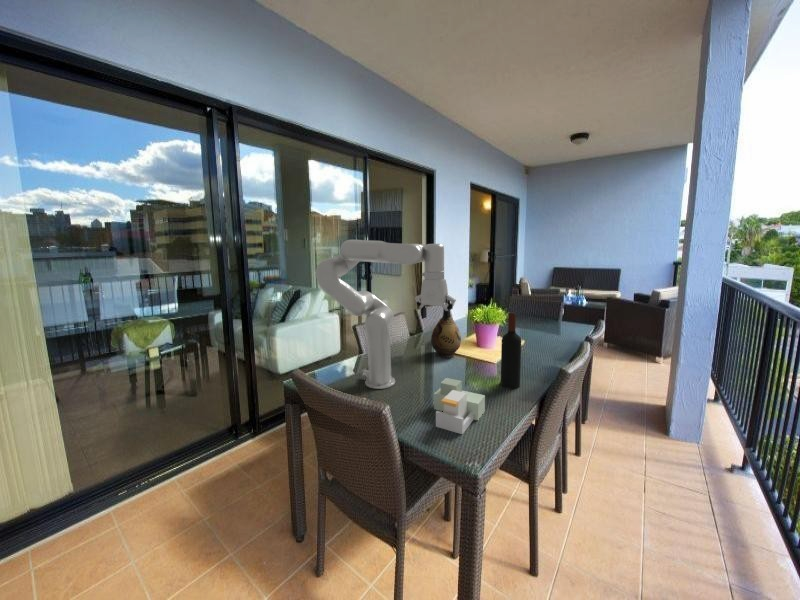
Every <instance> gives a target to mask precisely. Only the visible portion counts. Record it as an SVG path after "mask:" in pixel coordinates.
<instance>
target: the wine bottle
mask: <svg viewBox="0 0 800 600" xmlns="http://www.w3.org/2000/svg"><path fill="white" fill-rule="evenodd" d="M516 318H517V313H516V312H514V311H513V312H508V315H507V320H508V321H507V327H508V329H507V333H504V334H503V336H502V337H501V349H500V350H501V351H500V352H501V356H500V358H501V359H500V386H502V387H503V388H505V389H511V390H512V389H514V390H515V389H518V388H520V387H521V367H522V366H521V365H522V338H521V337H520V335H519V334H518V333H517V332H516V322H517V319H516Z"/></svg>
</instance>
